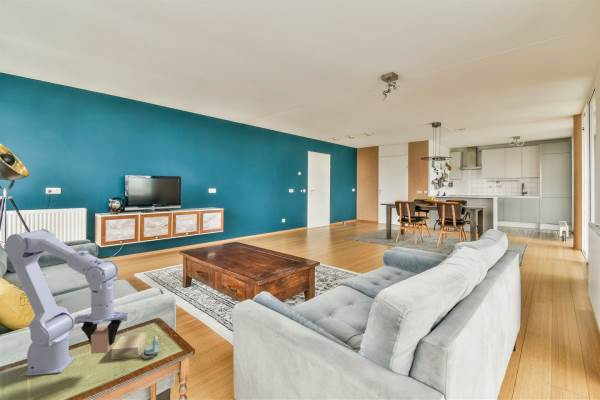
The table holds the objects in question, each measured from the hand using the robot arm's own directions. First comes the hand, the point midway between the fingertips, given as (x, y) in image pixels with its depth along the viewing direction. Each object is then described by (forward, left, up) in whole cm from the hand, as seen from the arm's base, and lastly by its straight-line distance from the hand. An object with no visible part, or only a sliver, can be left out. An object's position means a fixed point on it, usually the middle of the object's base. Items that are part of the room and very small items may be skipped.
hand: (102, 343), depth 89 cm
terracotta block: (0, 0, -2) cm, 2 cm away
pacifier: (+12, +8, -10) cm, 17 cm away
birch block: (+4, +10, -9) cm, 14 cm away
